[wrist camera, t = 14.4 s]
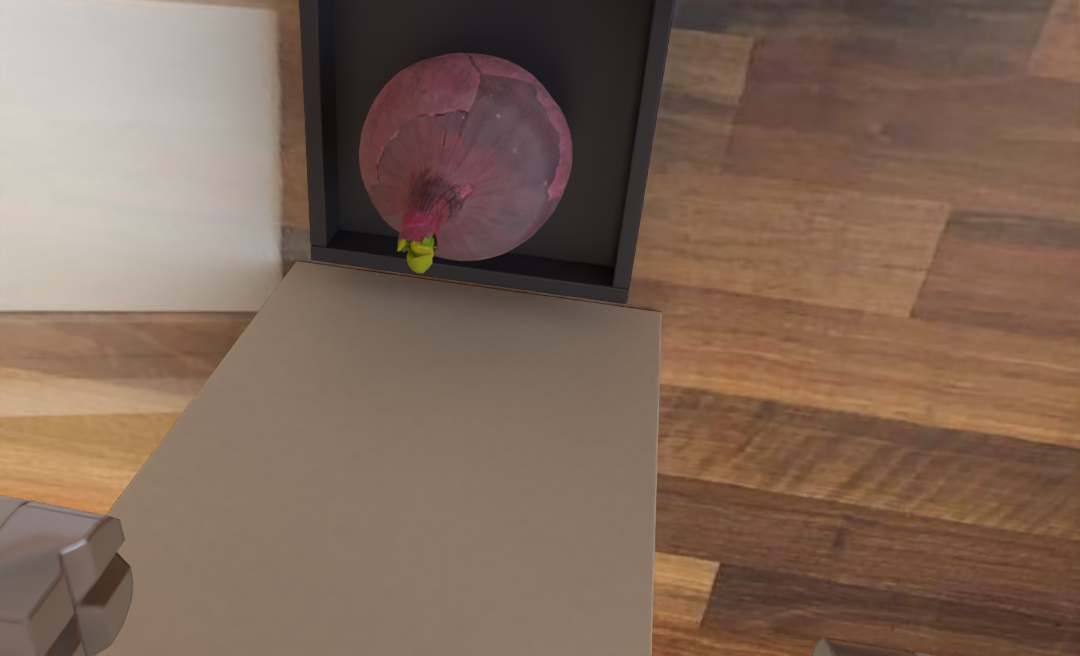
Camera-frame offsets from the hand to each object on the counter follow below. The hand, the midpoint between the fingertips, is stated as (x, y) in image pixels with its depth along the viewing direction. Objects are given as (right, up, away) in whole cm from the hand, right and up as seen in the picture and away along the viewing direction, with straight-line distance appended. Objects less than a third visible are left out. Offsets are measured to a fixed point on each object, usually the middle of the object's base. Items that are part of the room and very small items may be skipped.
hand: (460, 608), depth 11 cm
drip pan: (-1, +11, +21) cm, 23 cm away
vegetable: (-1, +10, +20) cm, 23 cm away
